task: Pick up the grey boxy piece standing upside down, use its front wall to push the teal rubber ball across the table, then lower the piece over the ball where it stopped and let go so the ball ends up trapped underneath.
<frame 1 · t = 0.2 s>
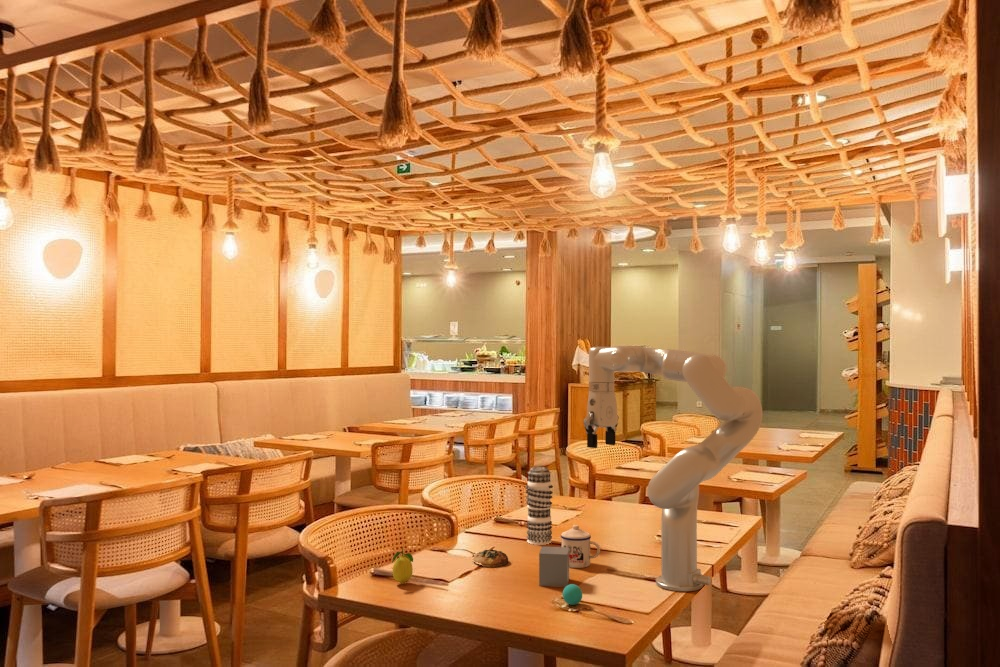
hand: (601, 446, 221), 36 cm above the table, tool pointing down, fingers open, 9 cm apart
teacup with lid: (580, 565, 225), on the table
lemon: (402, 585, 206), on the table
bread roll: (490, 564, 228), on the table
ball: (572, 594, 189), on the table
grey boxy piece: (554, 582, 208), on the table
decorative candle: (539, 542, 253), on the table
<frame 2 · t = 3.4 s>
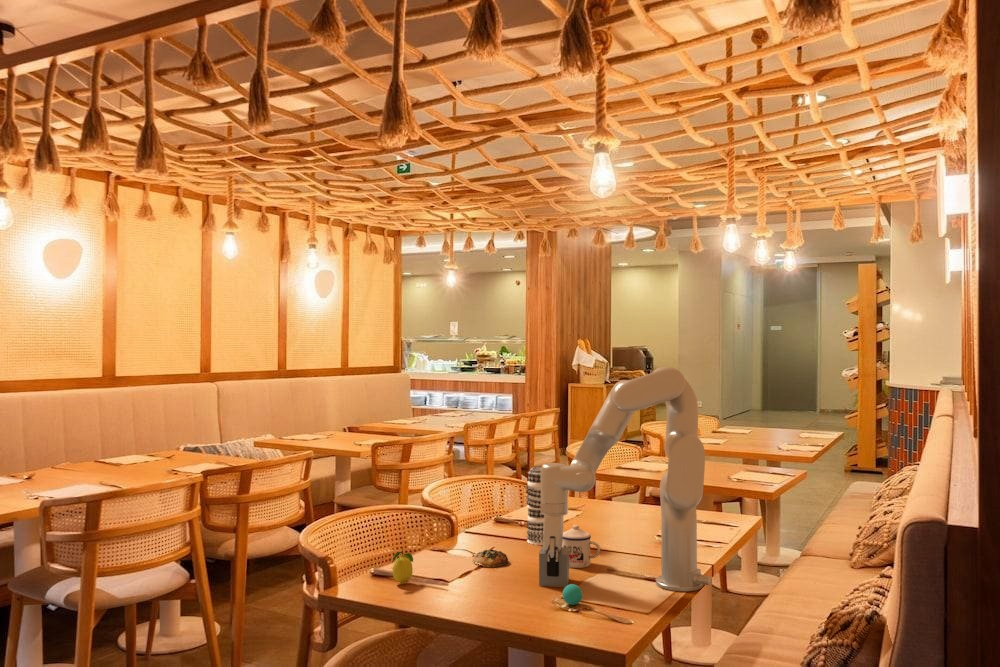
hand: (554, 571, 208), 3 cm above the table, tool pointing down, fingers closed on grey boxy piece, 7 cm apart
grey boxy piece: (554, 582, 208), on the table, touching gripper
everything else where it was.
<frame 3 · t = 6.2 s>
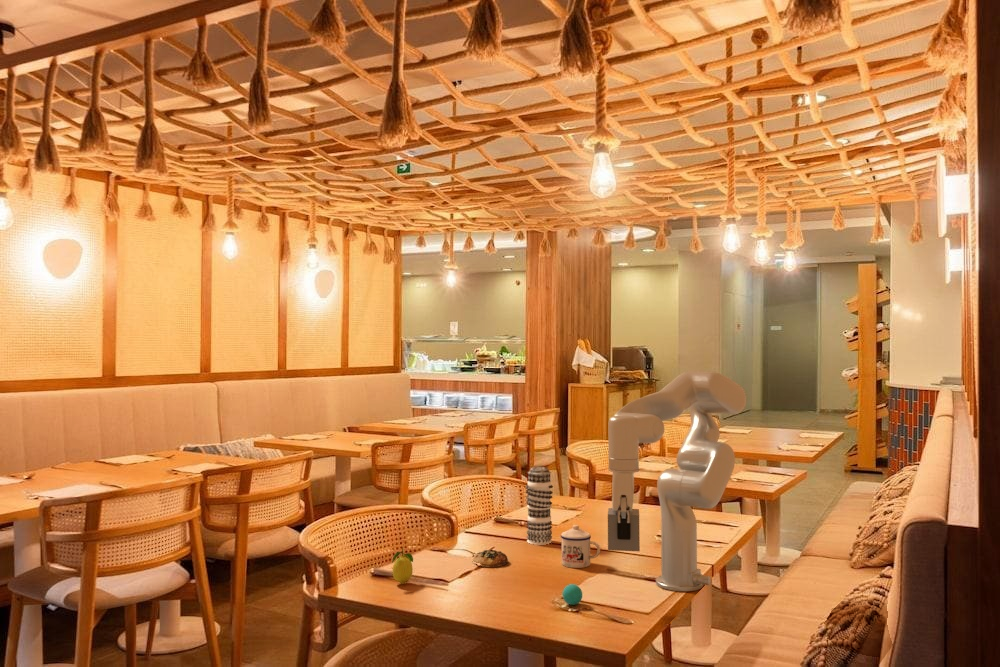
hand: (624, 534, 188), 18 cm above the table, tool pointing down, fingers closed on grey boxy piece, 7 cm apart
grey boxy piece: (623, 546, 188), point 15 cm above the table, touching gripper
everything else where it was.
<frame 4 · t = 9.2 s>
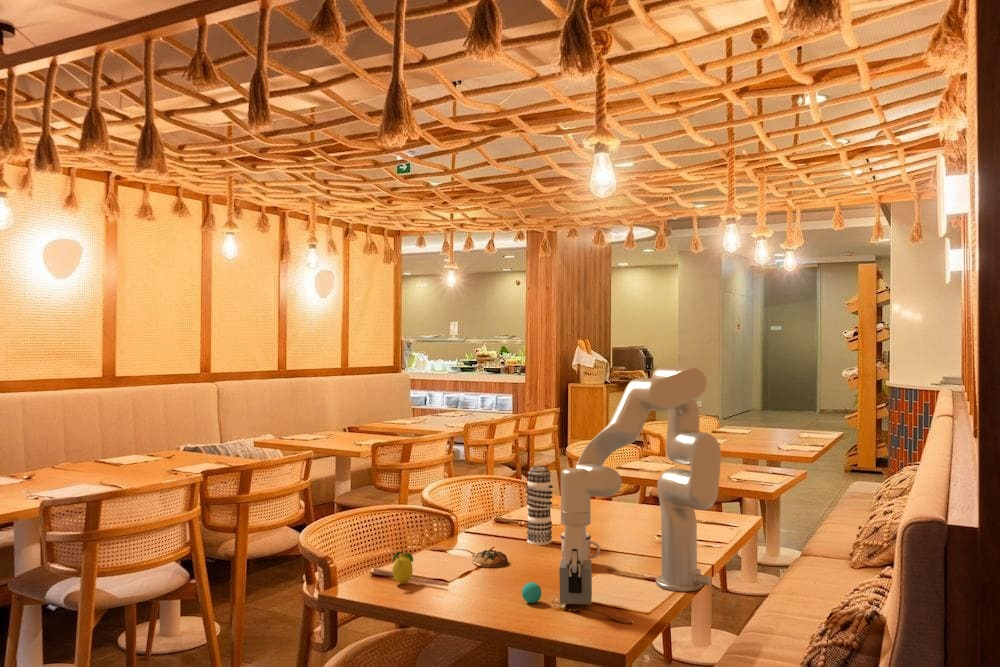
hand: (576, 587, 189), 4 cm above the table, tool pointing down, fingers closed on grey boxy piece, 7 cm apart
ball: (531, 592, 191), on the table
grey boxy piece: (576, 599, 189), point 1 cm above the table, touching gripper
everything else where it was.
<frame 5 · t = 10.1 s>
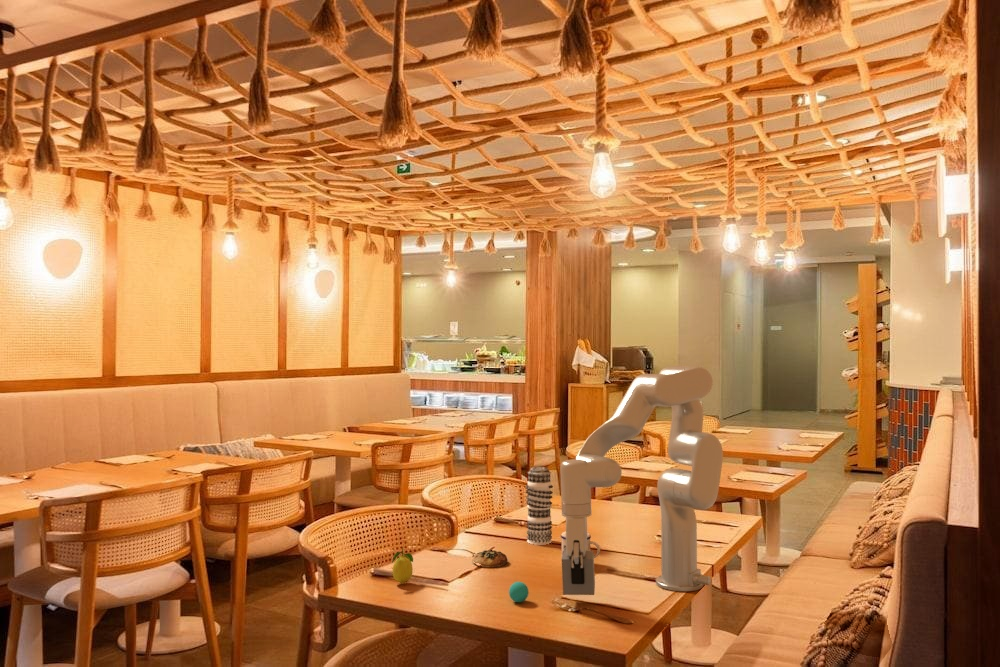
hand: (578, 578, 190), 7 cm above the table, tool pointing down, fingers closed on grey boxy piece, 7 cm apart
ball: (518, 592, 191), on the table
grey boxy piece: (579, 589, 190), point 4 cm above the table, touching gripper
everything else where it was.
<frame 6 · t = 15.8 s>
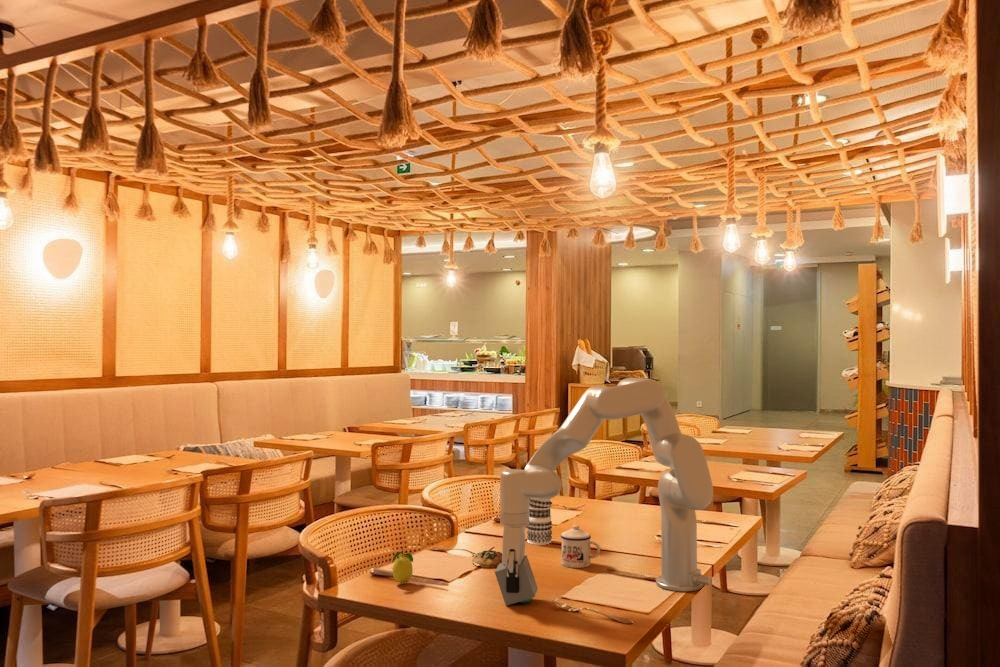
hand: (514, 587, 192), 4 cm above the table, tool pointing down, fingers closed on grey boxy piece, 7 cm apart
ball: (523, 592, 191), on the table, touching grey boxy piece
grey boxy piece: (522, 596, 191), point 1 cm above the table, tilted 19°, touching ball, gripper
when the fingers open (4 cm above the table, at t = 16.4 s): grey boxy piece drops 1 cm, on the table.
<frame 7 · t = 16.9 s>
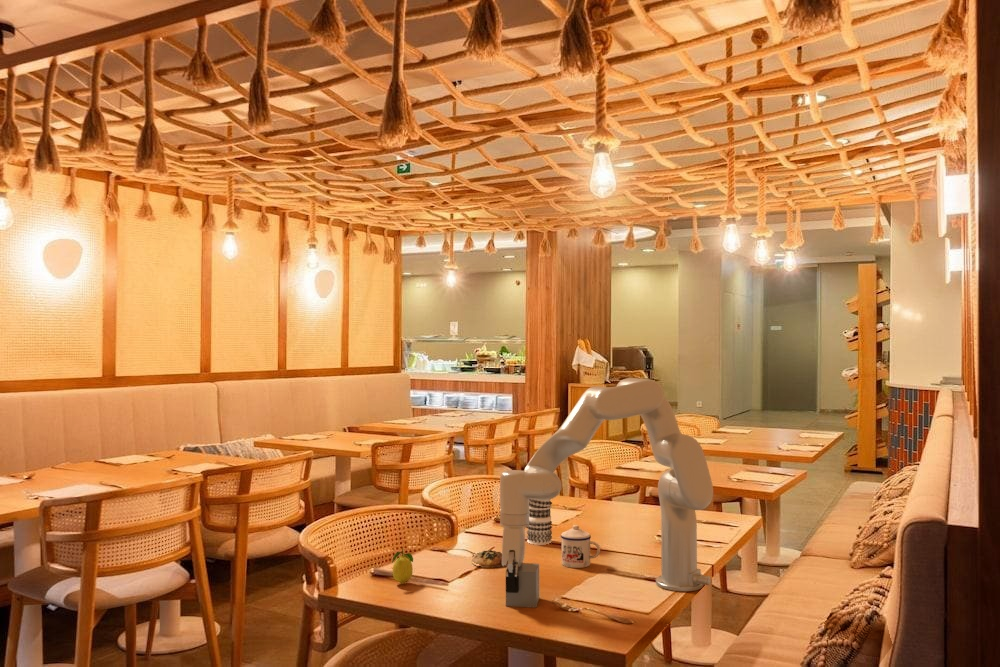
hand: (514, 586, 192), 4 cm above the table, tool pointing down, fingers open, 9 cm apart
ball: (523, 592, 191), on the table
grey boxy piece: (522, 601, 191), on the table
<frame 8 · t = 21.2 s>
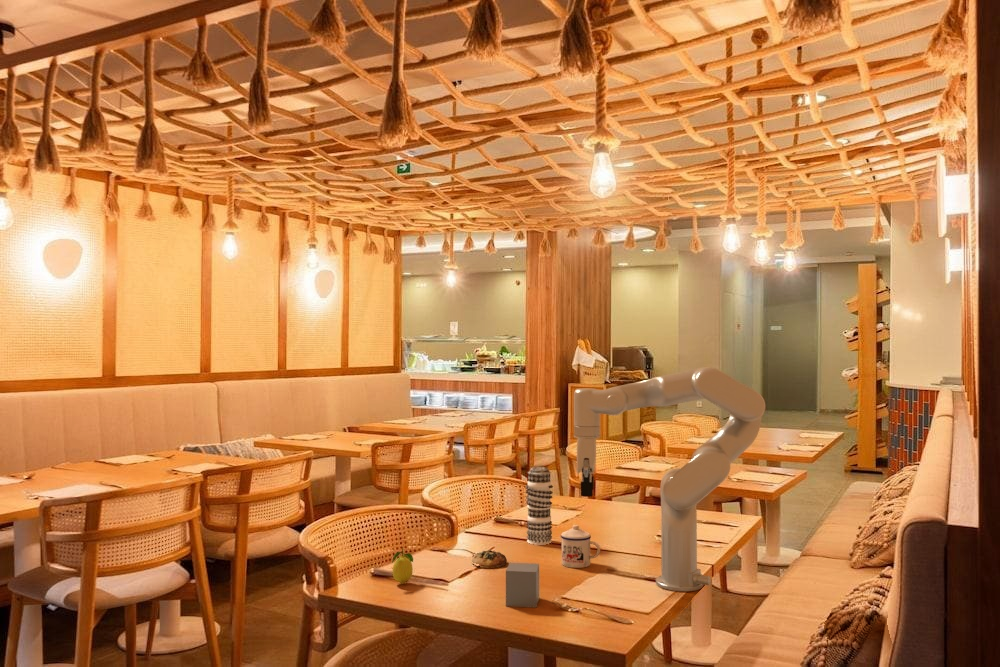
hand: (587, 493, 211), 24 cm above the table, tool pointing down, fingers open, 9 cm apart
at the end: ball 0.2 cm from the grey boxy piece (horizontally); grey boxy piece on the table; ball moved 12.6 cm from its start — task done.
